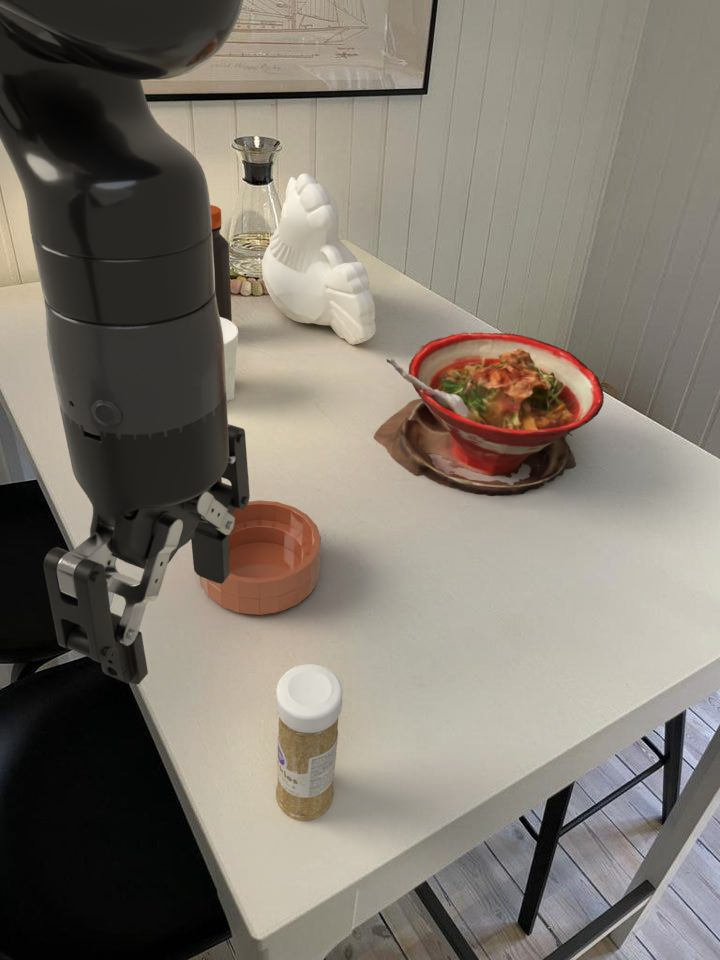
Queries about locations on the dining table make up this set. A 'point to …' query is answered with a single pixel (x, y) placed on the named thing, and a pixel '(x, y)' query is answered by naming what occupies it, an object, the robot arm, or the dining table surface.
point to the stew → (491, 410)
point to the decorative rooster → (317, 266)
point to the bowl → (268, 560)
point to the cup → (229, 354)
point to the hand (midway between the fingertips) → (173, 622)
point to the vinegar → (221, 266)
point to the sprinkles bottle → (307, 739)
